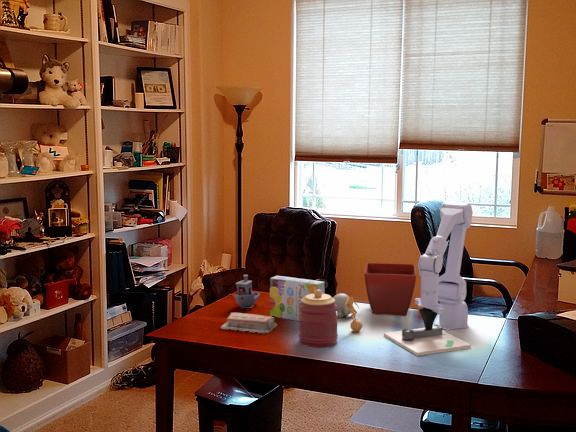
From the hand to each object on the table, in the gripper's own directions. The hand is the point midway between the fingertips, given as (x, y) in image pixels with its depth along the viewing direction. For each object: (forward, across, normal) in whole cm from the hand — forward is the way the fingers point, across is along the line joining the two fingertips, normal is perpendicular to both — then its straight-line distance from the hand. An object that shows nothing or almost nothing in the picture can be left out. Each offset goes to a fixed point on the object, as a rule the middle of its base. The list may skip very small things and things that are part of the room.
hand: (428, 330), depth 216 cm
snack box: (+3, -38, -33) cm, 50 cm away
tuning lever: (+2, +1, -3) cm, 4 cm away
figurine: (+3, -17, -20) cm, 26 cm away
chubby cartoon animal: (+3, -36, -17) cm, 40 cm away
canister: (+3, -11, -36) cm, 37 cm away
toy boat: (+3, -60, -46) cm, 75 cm away
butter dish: (+4, -34, -52) cm, 63 cm away
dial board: (+3, +2, -2) cm, 5 cm away
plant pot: (+3, -34, +4) cm, 34 cm away
